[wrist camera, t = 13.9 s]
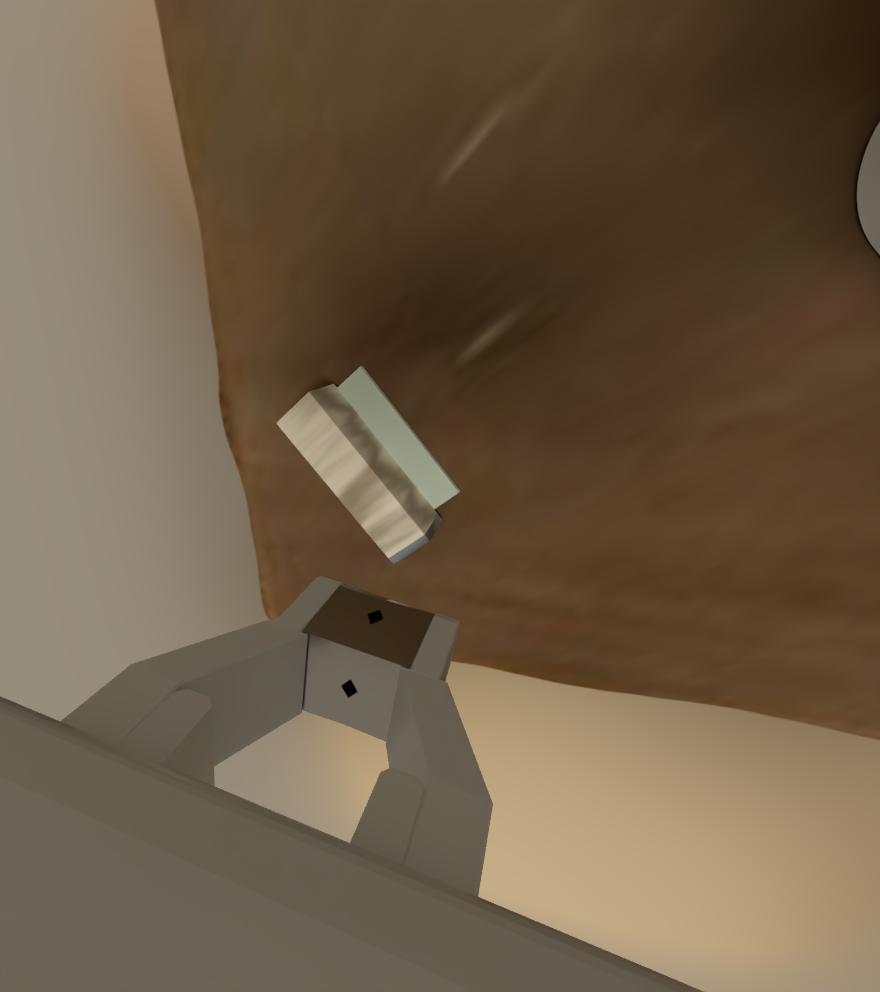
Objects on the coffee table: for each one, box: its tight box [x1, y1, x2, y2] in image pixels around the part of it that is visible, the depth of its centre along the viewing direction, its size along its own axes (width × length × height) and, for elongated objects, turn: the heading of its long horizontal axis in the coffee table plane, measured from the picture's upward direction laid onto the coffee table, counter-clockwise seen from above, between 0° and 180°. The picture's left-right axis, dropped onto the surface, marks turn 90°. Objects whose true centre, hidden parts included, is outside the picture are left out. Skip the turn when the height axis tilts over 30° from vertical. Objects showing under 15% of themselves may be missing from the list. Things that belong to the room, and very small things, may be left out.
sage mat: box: [290, 366, 460, 542], centre depth 50 cm, size 16×12×1 cm
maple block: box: [277, 384, 442, 564], centre depth 47 cm, size 5×5×18 cm
